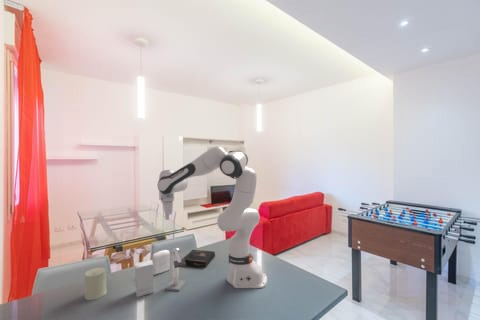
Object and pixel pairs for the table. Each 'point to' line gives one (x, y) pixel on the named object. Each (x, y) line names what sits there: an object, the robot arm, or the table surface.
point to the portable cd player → (199, 258)
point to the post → (175, 279)
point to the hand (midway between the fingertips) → (167, 219)
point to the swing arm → (178, 258)
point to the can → (95, 283)
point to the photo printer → (161, 262)
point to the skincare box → (144, 278)
